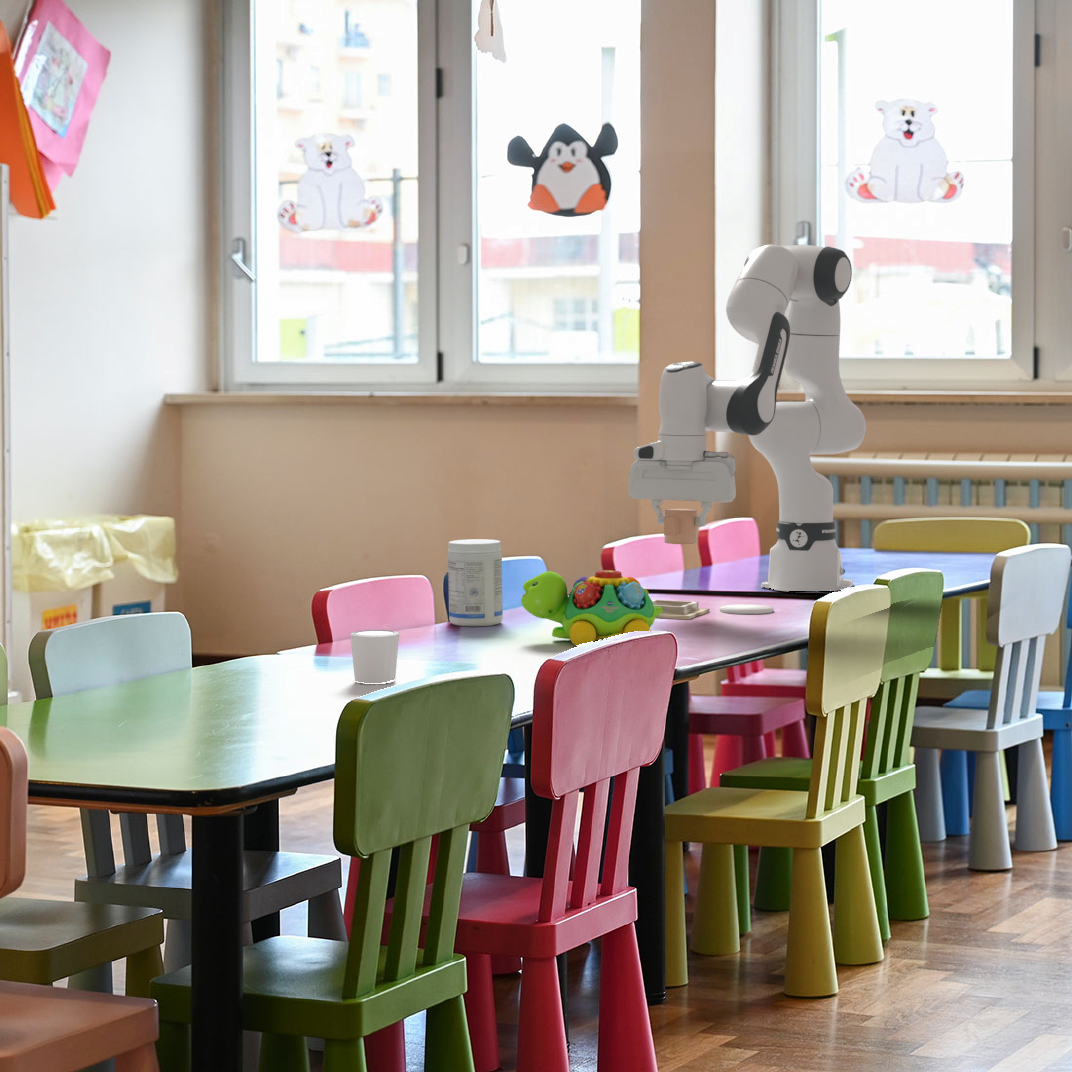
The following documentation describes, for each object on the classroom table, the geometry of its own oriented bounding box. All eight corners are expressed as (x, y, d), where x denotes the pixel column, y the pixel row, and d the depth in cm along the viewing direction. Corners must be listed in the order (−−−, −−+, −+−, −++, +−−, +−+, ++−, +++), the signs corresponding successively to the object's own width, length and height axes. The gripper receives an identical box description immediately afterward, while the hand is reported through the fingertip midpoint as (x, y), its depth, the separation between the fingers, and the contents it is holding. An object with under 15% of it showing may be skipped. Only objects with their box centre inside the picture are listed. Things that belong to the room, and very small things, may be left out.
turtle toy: (520, 635, 291) (520, 566, 290) (658, 634, 291) (658, 565, 291) (521, 649, 274) (521, 576, 273) (667, 649, 275) (667, 575, 274)
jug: (701, 541, 320) (701, 509, 319) (684, 547, 311) (684, 514, 311) (670, 539, 323) (671, 508, 322) (653, 545, 314) (653, 512, 313)
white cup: (343, 680, 244) (342, 631, 243) (387, 676, 247) (386, 628, 247) (362, 687, 238) (362, 637, 237) (407, 683, 241) (407, 633, 241)
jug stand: (648, 608, 326) (648, 598, 326) (709, 611, 321) (709, 601, 321) (626, 616, 315) (626, 605, 315) (688, 619, 310) (688, 608, 310)
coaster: (728, 606, 329) (728, 603, 329) (779, 609, 325) (779, 606, 325) (712, 612, 320) (712, 609, 320) (764, 615, 316) (765, 612, 316)
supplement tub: (481, 618, 312) (480, 537, 310) (513, 624, 304) (513, 541, 303) (437, 623, 305) (437, 540, 304) (469, 628, 298) (469, 544, 297)
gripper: (741, 451, 315) (740, 526, 317) (637, 447, 324) (637, 521, 326) (730, 452, 310) (729, 529, 311) (625, 449, 318) (624, 524, 320)
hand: (681, 525), depth 318 cm, fingers closed on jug, 6 cm apart
